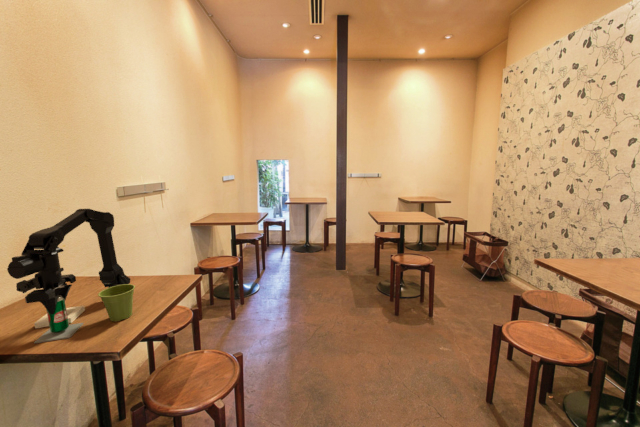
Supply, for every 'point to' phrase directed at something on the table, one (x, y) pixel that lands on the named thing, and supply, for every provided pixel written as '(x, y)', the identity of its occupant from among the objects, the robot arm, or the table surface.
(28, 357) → the table surface
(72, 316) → the block
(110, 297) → the plant pot
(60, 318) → the soda can
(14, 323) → the table surface
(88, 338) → the table surface
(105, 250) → the robot arm
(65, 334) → the grey mat
